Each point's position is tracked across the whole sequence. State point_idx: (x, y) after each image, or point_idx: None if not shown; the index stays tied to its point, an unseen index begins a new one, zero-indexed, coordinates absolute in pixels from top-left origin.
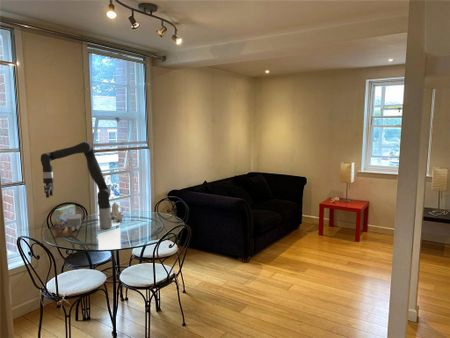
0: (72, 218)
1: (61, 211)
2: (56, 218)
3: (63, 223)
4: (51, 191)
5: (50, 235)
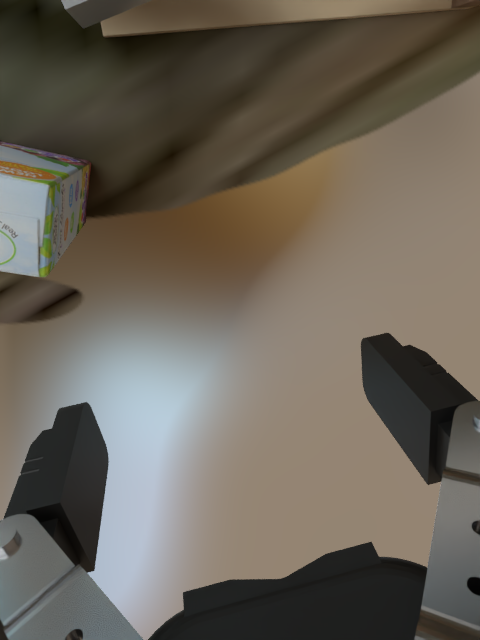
0: None
1: (10, 169)
2: (74, 218)
3: (26, 147)
4: (71, 518)
5: (372, 113)
